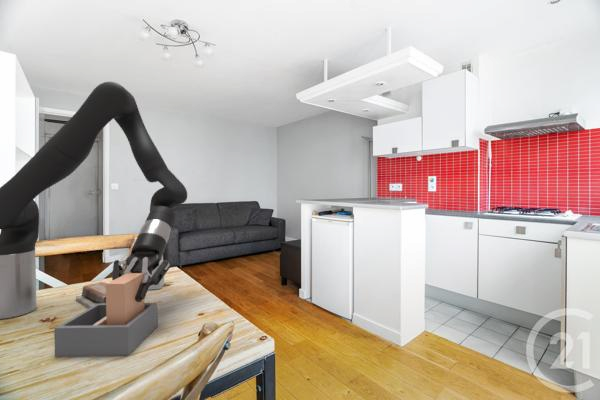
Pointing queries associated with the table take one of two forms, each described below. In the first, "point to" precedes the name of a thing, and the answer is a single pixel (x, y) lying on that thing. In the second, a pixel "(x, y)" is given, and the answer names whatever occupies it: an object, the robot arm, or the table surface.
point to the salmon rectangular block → (123, 299)
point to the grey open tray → (103, 333)
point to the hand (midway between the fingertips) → (127, 300)
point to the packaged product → (93, 294)
